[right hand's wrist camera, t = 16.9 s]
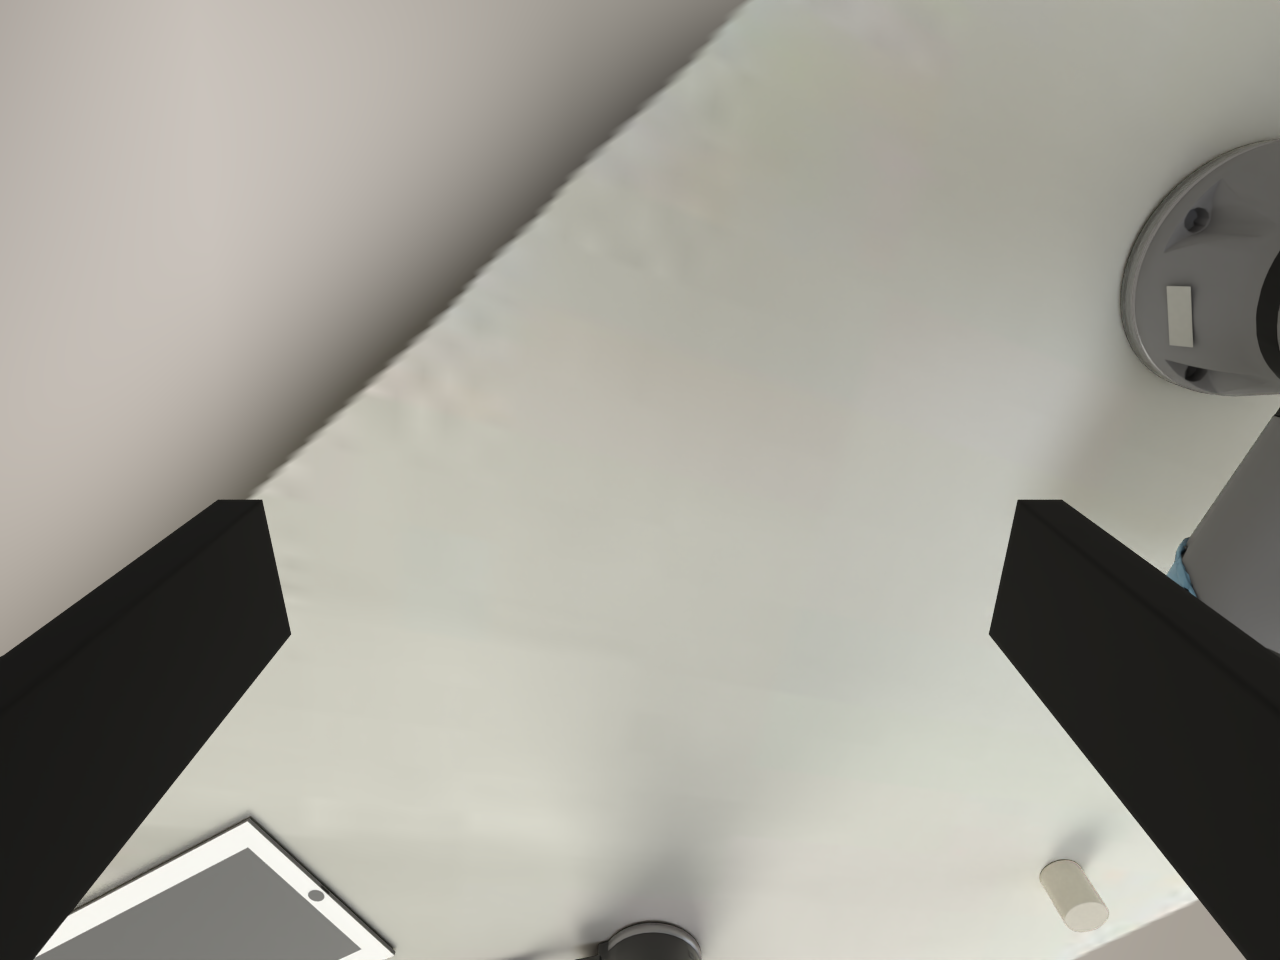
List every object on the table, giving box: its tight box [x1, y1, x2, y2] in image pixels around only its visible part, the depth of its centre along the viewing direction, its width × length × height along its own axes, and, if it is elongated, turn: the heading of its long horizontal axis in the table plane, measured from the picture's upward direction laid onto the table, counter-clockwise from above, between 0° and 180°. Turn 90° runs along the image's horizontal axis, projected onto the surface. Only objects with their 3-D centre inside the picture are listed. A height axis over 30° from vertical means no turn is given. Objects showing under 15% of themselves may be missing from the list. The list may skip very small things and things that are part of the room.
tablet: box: [34, 818, 395, 960], centre depth 68 cm, size 32×20×1 cm, turn 122°
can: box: [1040, 860, 1109, 932], centre depth 63 cm, size 4×4×4 cm
